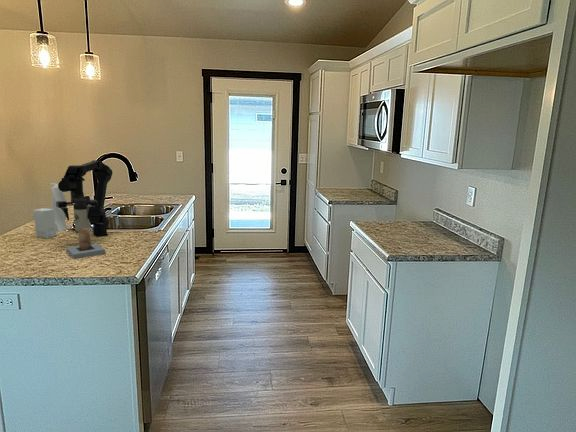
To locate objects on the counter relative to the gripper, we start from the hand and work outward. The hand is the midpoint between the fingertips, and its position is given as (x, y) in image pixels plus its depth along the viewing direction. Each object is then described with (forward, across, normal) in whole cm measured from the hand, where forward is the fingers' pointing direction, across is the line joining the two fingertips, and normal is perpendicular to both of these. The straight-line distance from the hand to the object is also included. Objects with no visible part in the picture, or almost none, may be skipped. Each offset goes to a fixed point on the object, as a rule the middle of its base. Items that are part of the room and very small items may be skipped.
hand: (78, 219), depth 211 cm
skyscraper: (+12, -1, +38) cm, 40 cm away
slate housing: (+14, -2, -18) cm, 22 cm away
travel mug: (+12, +9, +30) cm, 34 cm away
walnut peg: (+14, -2, -18) cm, 23 cm away
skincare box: (+13, -11, +25) cm, 30 cm away
